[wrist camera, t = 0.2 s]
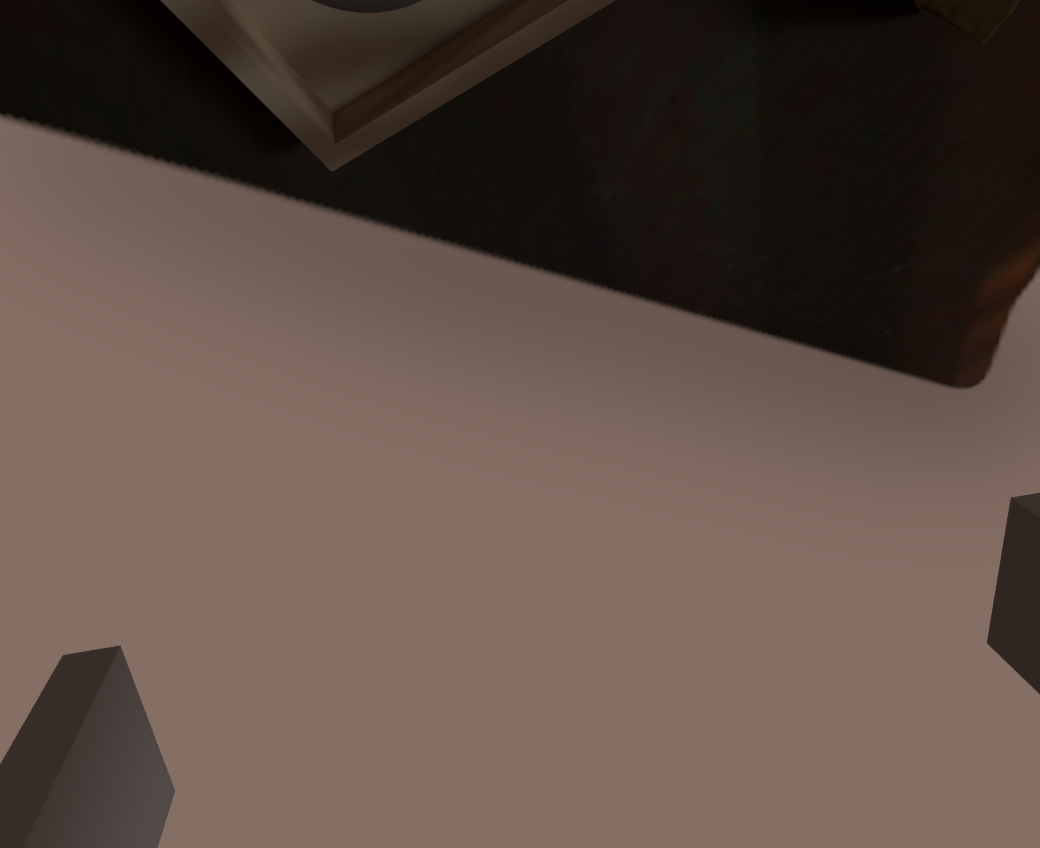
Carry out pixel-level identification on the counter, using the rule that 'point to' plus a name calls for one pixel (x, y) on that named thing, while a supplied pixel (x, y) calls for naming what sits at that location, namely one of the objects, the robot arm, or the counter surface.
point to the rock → (970, 14)
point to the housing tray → (369, 57)
